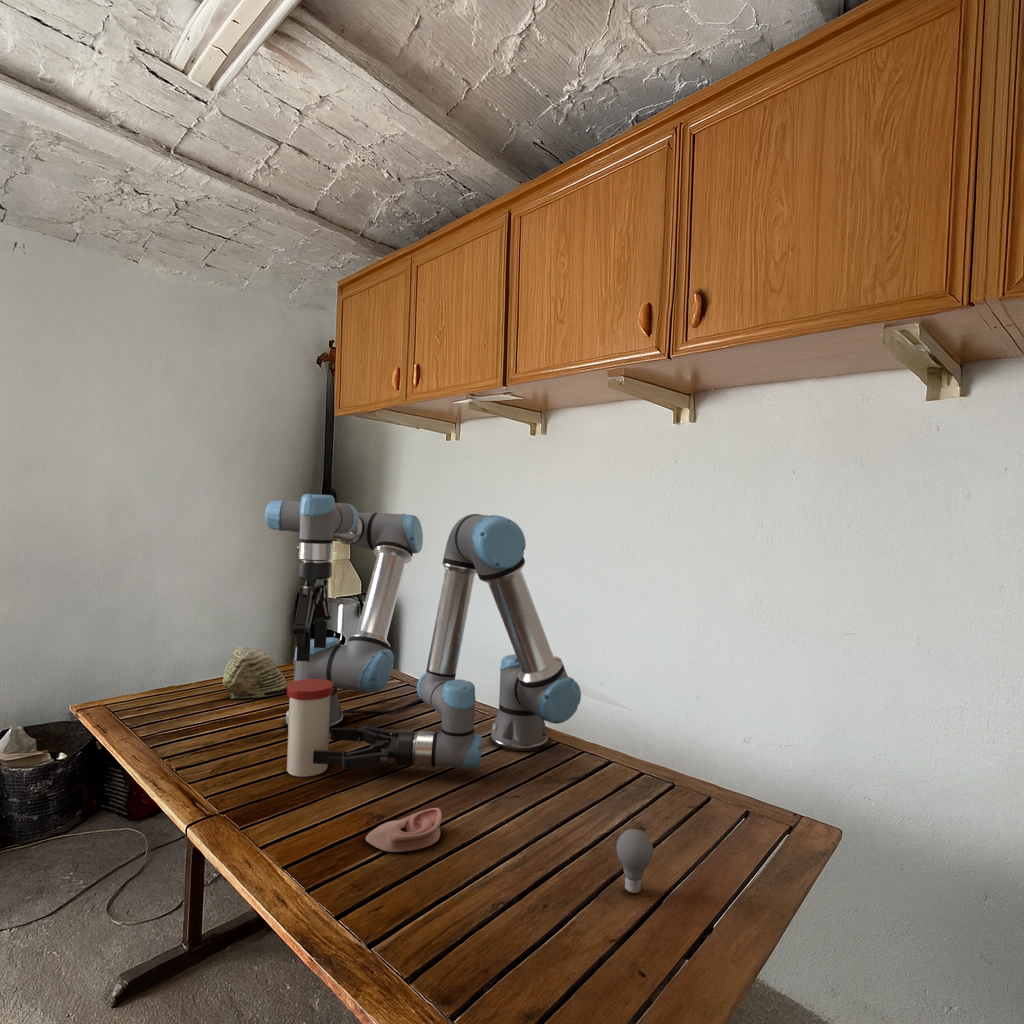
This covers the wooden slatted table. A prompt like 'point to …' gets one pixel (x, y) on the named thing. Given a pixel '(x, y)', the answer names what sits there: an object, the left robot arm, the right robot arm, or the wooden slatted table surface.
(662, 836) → the wooden slatted table surface
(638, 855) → the light bulb
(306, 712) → the jar
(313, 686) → the lid
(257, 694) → the fossil
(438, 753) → the right robot arm
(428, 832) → the anatomical model
